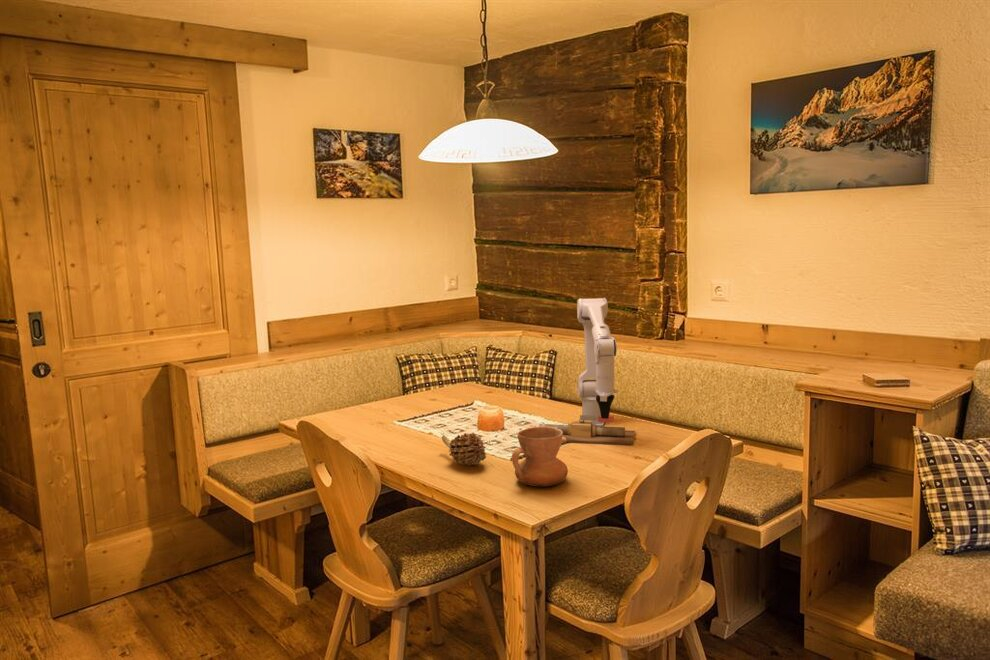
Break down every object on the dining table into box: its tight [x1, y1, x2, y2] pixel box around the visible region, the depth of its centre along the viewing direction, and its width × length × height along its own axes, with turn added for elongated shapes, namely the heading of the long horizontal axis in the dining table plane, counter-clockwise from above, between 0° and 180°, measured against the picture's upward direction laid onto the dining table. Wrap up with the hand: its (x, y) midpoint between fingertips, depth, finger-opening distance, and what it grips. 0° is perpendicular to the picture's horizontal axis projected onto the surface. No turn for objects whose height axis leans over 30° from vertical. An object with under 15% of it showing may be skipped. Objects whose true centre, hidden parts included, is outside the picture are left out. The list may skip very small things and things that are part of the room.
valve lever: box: [578, 414, 615, 423], centre depth 242 cm, size 11×2×2 cm, turn 78°
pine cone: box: [441, 432, 487, 466], centre depth 221 cm, size 22×10×10 cm, turn 39°
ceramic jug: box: [511, 426, 569, 488], centre depth 202 cm, size 18×14×14 cm
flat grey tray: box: [538, 419, 636, 446], centre depth 244 cm, size 14×34×5 cm, turn 77°
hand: (605, 418), depth 237 cm, fingers closed
